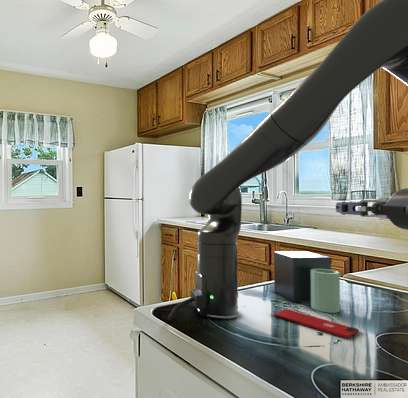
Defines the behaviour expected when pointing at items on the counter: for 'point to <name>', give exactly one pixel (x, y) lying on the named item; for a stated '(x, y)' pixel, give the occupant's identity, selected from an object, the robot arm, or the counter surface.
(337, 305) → the jar
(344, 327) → the electronic device
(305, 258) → the dark gray box
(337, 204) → the robot arm
